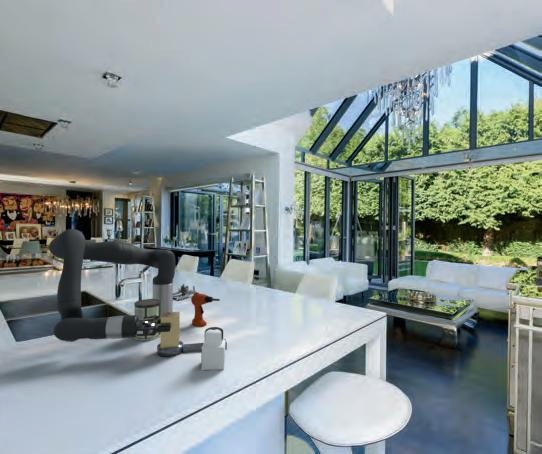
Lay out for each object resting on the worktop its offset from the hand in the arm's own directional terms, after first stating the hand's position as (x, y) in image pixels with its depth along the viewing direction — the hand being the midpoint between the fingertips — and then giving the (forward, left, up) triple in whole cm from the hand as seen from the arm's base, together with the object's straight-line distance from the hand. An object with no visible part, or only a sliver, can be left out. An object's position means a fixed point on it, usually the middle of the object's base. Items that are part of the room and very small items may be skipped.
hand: (171, 324), depth 111 cm
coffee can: (-19, +8, -10) cm, 23 cm away
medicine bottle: (+20, -2, -10) cm, 22 cm away
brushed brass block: (0, 0, -7) cm, 8 cm away
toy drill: (-5, +28, -10) cm, 30 cm away
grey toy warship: (-52, +64, -10) cm, 83 cm away
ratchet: (+6, +5, -10) cm, 12 cm away
